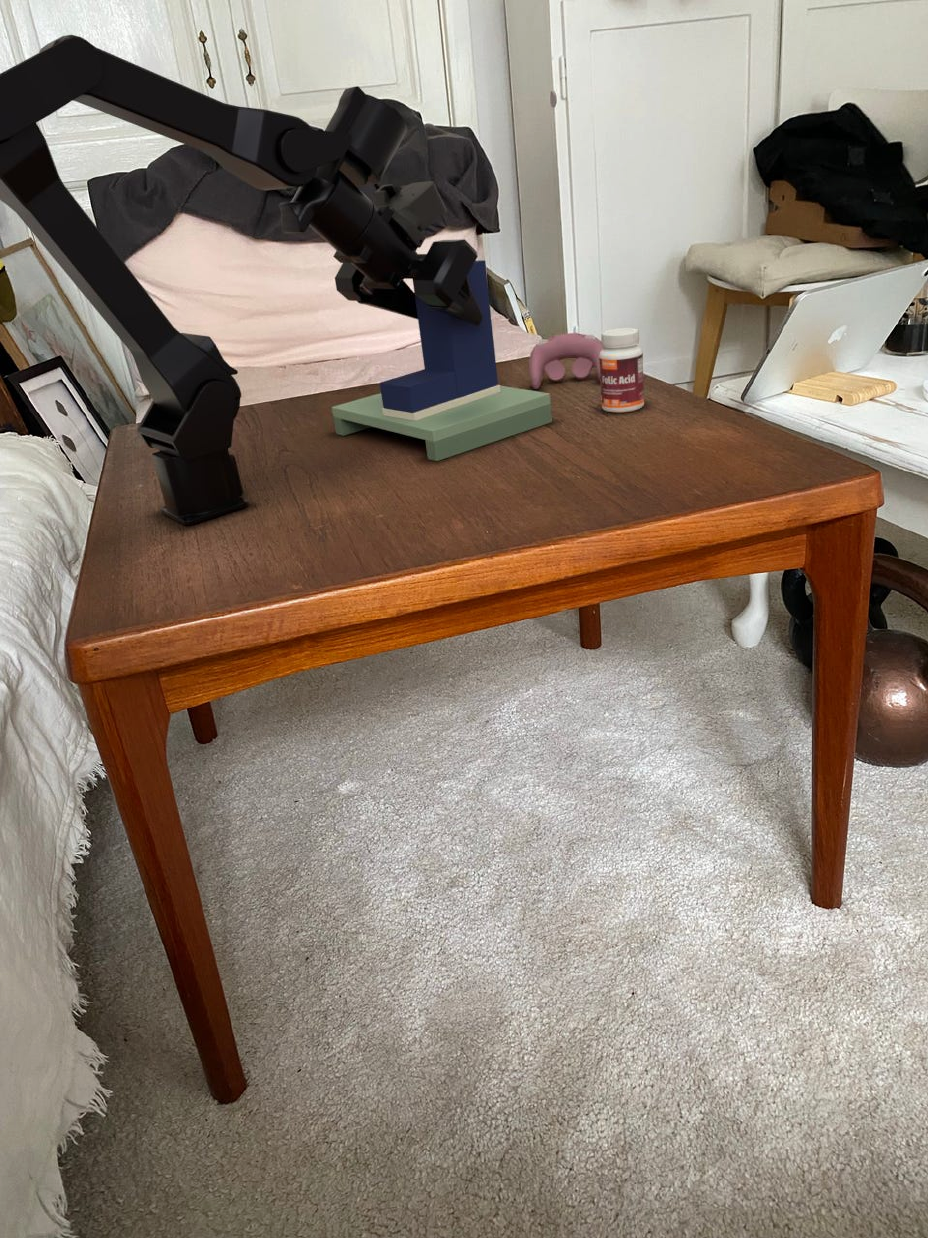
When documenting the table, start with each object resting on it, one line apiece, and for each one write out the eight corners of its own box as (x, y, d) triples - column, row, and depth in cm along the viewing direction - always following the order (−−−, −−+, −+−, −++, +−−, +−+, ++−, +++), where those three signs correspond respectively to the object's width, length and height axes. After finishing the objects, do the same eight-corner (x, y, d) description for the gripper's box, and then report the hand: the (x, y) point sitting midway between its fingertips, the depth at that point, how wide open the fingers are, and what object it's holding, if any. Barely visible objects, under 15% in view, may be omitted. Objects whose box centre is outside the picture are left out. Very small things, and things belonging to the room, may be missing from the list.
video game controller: (609, 388, 121) (605, 334, 121) (609, 379, 117) (605, 323, 117) (531, 396, 123) (528, 342, 123) (529, 387, 118) (525, 331, 118)
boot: (415, 421, 99) (395, 281, 93) (382, 415, 103) (361, 280, 97) (500, 391, 106) (487, 260, 100) (467, 387, 110) (452, 260, 104)
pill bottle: (598, 414, 105) (594, 337, 101) (605, 402, 109) (601, 328, 106) (641, 412, 104) (638, 334, 100) (647, 401, 108) (644, 325, 104)
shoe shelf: (436, 461, 96) (432, 430, 95) (336, 433, 111) (331, 406, 110) (552, 422, 105) (550, 393, 103) (444, 401, 119) (441, 375, 118)
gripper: (450, 146, 87) (546, 255, 97) (340, 161, 100) (435, 256, 111) (393, 251, 86) (496, 349, 97) (290, 252, 99) (390, 338, 110)
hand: (453, 319), depth 103 cm, fingers open, 9 cm apart
